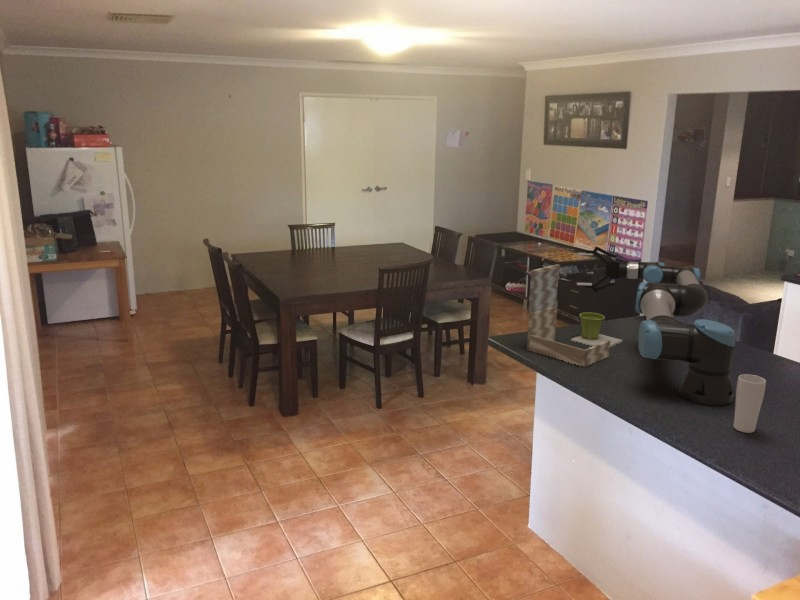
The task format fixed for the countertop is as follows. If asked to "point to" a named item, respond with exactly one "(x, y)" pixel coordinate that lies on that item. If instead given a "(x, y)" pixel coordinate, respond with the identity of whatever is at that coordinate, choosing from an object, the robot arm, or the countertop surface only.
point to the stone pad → (597, 340)
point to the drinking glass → (748, 402)
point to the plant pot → (591, 324)
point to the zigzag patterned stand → (554, 322)
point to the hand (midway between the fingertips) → (577, 268)
